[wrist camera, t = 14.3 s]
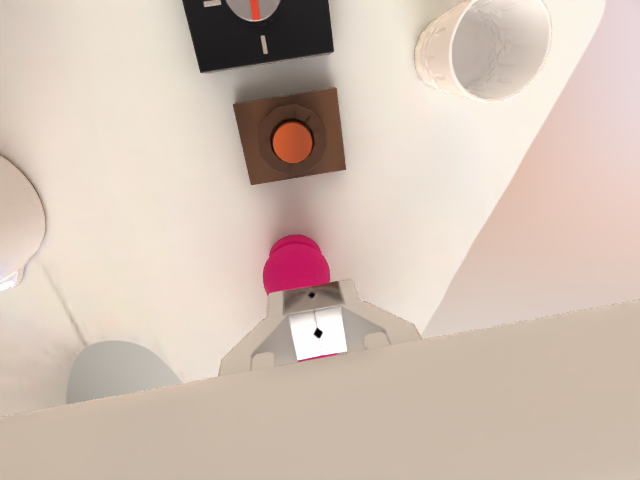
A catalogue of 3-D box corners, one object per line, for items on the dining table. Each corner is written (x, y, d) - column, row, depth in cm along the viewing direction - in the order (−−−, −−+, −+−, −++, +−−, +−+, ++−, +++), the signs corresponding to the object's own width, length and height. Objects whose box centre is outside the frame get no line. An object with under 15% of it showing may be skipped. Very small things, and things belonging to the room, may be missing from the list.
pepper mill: (268, 226, 42) (256, 339, 24) (330, 234, 44) (364, 347, 25) (261, 282, 45) (246, 420, 27) (320, 287, 46) (344, 424, 28)
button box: (252, 181, 40) (249, 190, 37) (234, 103, 37) (230, 105, 34) (343, 166, 40) (348, 173, 37) (334, 87, 37) (339, 88, 34)
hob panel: (206, 73, 36) (199, 73, 33) (175, -55, 32) (164, -68, 29) (330, 54, 36) (334, 52, 33) (315, -76, 32) (318, -91, 29)
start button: (277, 162, 37) (277, 166, 35) (270, 124, 35) (269, 126, 34) (313, 156, 37) (314, 159, 35) (307, 118, 35) (308, 120, 34)
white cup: (428, -6, 35) (479, -36, 26) (500, 25, 36) (573, 7, 27) (395, 81, 38) (431, 83, 28) (464, 107, 39) (518, 116, 30)
